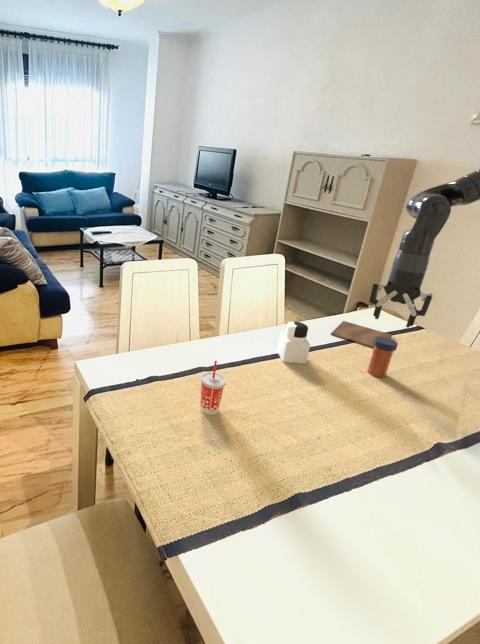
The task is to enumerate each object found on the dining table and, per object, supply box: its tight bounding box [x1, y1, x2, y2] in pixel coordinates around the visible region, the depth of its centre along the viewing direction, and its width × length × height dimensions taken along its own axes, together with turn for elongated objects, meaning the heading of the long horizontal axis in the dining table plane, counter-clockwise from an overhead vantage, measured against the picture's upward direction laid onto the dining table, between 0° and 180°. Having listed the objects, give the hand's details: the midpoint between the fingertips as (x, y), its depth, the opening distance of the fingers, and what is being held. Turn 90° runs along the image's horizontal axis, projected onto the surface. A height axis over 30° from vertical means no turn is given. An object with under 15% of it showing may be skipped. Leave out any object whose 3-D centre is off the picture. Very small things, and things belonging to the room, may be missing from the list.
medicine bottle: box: [276, 321, 311, 365], centre depth 122 cm, size 7×7×12 cm
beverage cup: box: [199, 360, 227, 416], centre depth 95 cm, size 6×6×14 cm
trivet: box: [330, 320, 391, 349], centre depth 141 cm, size 16×16×1 cm
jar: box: [366, 346, 394, 379], centre depth 115 cm, size 5×5×11 cm
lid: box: [373, 336, 399, 352], centre depth 113 cm, size 6×6×2 cm
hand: (391, 322), depth 111 cm, fingers open, 7 cm apart
